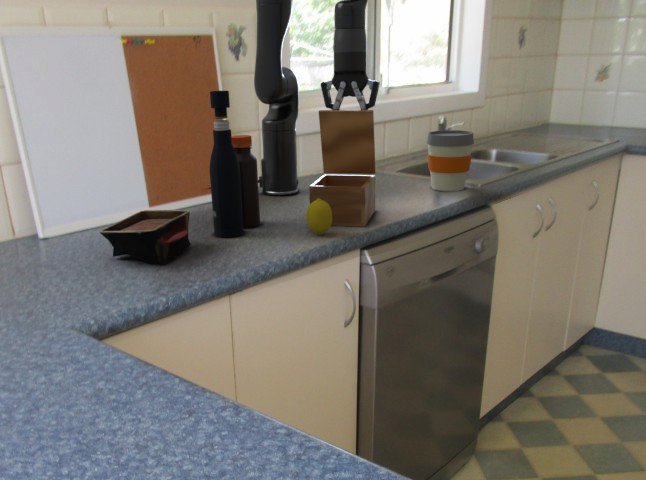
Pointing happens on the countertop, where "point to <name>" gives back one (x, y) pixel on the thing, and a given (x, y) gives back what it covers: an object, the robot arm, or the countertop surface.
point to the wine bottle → (224, 173)
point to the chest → (346, 197)
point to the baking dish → (150, 235)
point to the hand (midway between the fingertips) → (350, 126)
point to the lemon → (319, 216)
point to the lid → (347, 141)
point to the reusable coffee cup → (449, 158)
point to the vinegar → (248, 180)
